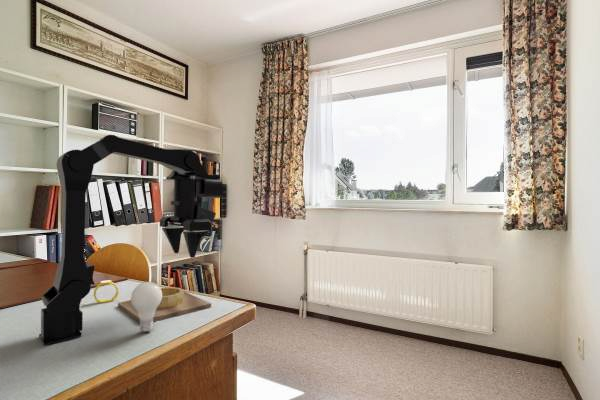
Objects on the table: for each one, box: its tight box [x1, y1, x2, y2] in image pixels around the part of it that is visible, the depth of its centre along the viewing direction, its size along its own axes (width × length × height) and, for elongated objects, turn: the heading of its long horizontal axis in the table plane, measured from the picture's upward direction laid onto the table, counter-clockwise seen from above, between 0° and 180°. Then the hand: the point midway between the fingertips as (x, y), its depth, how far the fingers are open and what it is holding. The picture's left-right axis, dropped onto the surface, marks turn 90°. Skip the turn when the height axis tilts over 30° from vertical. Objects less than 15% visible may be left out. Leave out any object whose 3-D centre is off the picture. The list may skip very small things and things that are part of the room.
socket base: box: [117, 291, 212, 323], centre depth 90 cm, size 18×18×1 cm
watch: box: [93, 279, 119, 304], centre depth 94 cm, size 6×3×6 cm, turn 127°
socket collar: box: [157, 286, 185, 309], centre depth 90 cm, size 10×10×3 cm
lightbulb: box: [130, 281, 162, 333], centre depth 73 cm, size 6×6×11 cm
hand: (184, 255), depth 89 cm, fingers open, 9 cm apart
